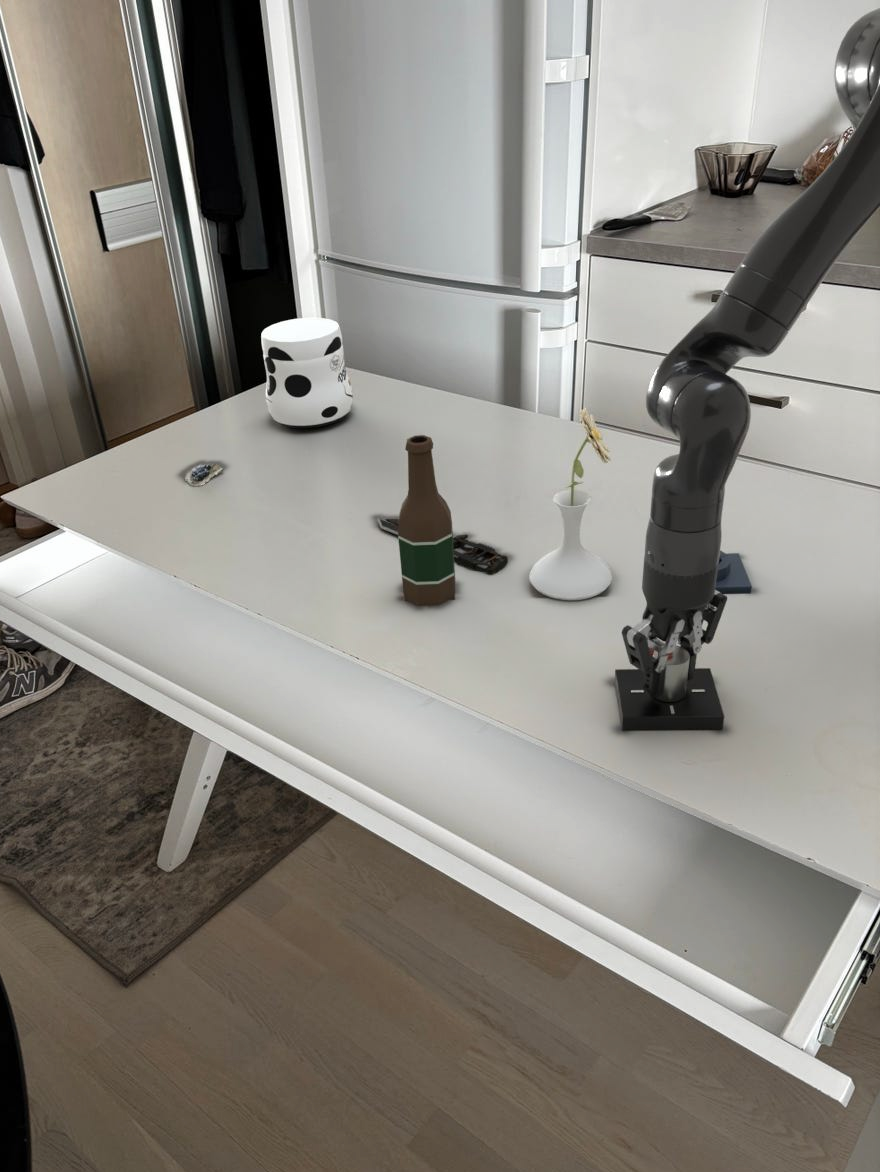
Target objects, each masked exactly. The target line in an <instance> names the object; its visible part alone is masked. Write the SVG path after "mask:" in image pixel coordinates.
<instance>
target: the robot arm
mask: <svg viewBox="0 0 880 1172" xmlns="http://www.w3.org/2000/svg"><path fill="white" fill-rule="evenodd" d="M838 47H839V48H838V50H837V52H836V57H835V62H834V71H833V73H834V74H833V75H834V76H833V77H834V88H835V93H836V96H837V98H838V101H839V105H840V106H841V109H842V110H843V112H844V114H845V115H846V117H847V119H848V121H849V122H850V124H851V125H852V127H853V128H854V131H853V133H852V134H851V136H850V137H849V139H847V142H846V143H845V144H844V146H843V147H842V149H841V150H840V151H839V152H838V154H837V155H836V156H835V157H834V158H833V160H832V161H831V162H830V163H829V164H828V165H827V167H826V168H825V169H824V170H823V172H821V174H819V176H818V177H817V178H815V180H814V181H813V182H812V183H811V184H810V185H809V186H808V187H807V188H806V189H805V190H804V191H803V192H801V194H800V195H798V197H796V198H795V200H793V201H792V202H791V203H790V204H789V205H788V206H787V207H786V208H785V209H784V210H783V211H782V212H781V213H780V214H779V215H778V216H777V217H776V218H775V219H774V220H773V221H772V222H771V223H770V224H769V225H768V226H767V227H766V229H765V230H763V232H762V233H761V234H760V235H759V237H758V238H757V239H756V240H755V242H754V243H753V245H752V246H751V247H750V249H749V250H748V251H747V253H746V254H745V255H744V257H743V259H742V261H741V262H740V264H739V265H738V267H737V268H736V269H735V271H734V272H733V275H732V276H731V278H730V279H729V281H728V283H727V284H726V286H725V288H724V289H723V291H722V293H721V294H720V296H719V297H718V299H717V301H716V303H715V304H714V306H713V307H712V309H711V310H709V312H708V313H706V314H705V316H704V317H702V318H701V320H699V321H698V322H697V323H696V324H695V325H694V326H693V327H692V328H691V329H690V330H689V331H688V332H687V334H685V336H684V337H682V339H680V340H679V342H678V343H677V344H676V345H675V346H674V347H673V348H672V349H671V350H670V351H668V353H666V355H665V357H664V358H663V359H662V360H661V361H660V363H659V364H658V365H657V367H656V369H655V371H654V372H653V374H652V376H651V379H650V380H649V383H648V386H647V390H646V394H645V408H646V411H647V414H648V416H649V418H650V419H651V420H652V421H653V422H654V423H655V424H656V425H657V426H658V427H660V428H662V429H663V430H665V431H666V432H668V433H670V435H672V436H674V437H676V438H677V439H679V453H677V454H673V455H670V456H667V457H665V458H663V460H661V461H660V462H659V463H658V464H657V466H656V468H655V471H654V473H653V478H652V485H651V498H650V512H649V513H650V514H649V518H648V523H647V528H646V532H645V541H644V542H645V543H644V557H643V566H642V567H643V569H642V581H641V582H642V583H641V591H642V593H643V596H644V598H645V601H646V606H645V609H644V611H643V613H642V616H641V617H642V620H641V621H640V622H639V623H638V624H636V625H635V626H634V627H632V626H631V625H625V626H624V627H623V628H622V630H621V637H622V640H623V643H624V647H625V650H626V655H627V658H628V661H629V664H630V665H631V666H633V667H635V669H639V670H641V671H642V672H644V674H643V688H644V689H645V690H646V691H647V692H649V693H650V694H652V695H653V696H654V697H659V696H660V695H662V694H663V686H664V675H665V670H664V668H665V665H666V662H667V658H668V655H669V654H672V653H673V652H674V649H675V646H676V645H678V646H680V647H682V648H684V649H686V650H687V651H688V652H689V655H690V660H689V669H688V678H687V681H689V680H691V679H692V678H693V673H694V671H695V668H696V666H697V656H698V654H699V653H700V652H701V651H702V648H703V647H702V646H703V645H704V644H706V645H710V644H711V643H712V642H713V640H714V637H715V634H716V632H717V629H718V626H719V624H720V621H721V618H722V615H723V612H724V610H725V607H726V605H727V601H728V596H727V595H726V594H722V593H720V592H718V591H717V590H715V587H716V579H717V571H718V564H719V556H720V550H721V549H722V548H721V546H722V532H723V531H722V519H723V510H724V502H725V496H726V495H725V494H726V484H727V481H728V479H729V477H730V475H731V473H732V472H733V469H734V467H735V464H736V462H737V459H738V457H739V454H740V452H741V449H742V447H743V445H744V443H745V440H746V438H747V435H748V432H749V430H750V425H751V419H752V410H751V409H752V408H751V401H750V397H749V394H748V392H747V390H746V388H745V386H744V385H743V384H742V383H741V382H740V381H738V380H737V379H735V378H734V377H732V376H730V375H728V373H729V371H730V370H732V369H733V367H734V366H736V365H737V363H739V362H740V361H741V360H742V359H744V358H749V357H751V358H752V357H753V358H765V357H769V356H771V355H772V354H773V353H775V352H776V350H778V348H779V347H780V346H781V344H782V342H784V340H785V339H786V337H787V336H788V334H789V332H790V331H791V329H792V328H793V326H794V325H795V323H796V322H797V320H798V319H799V318H800V316H801V314H802V313H803V311H804V310H805V308H806V307H807V306H808V304H809V303H810V301H811V299H812V298H813V297H814V295H815V294H816V292H817V290H818V289H819V287H820V286H821V284H822V283H823V282H824V280H825V278H826V277H827V276H828V274H829V272H830V271H831V270H832V268H833V267H834V265H835V264H836V262H837V261H838V260H839V258H840V257H841V256H842V254H843V253H844V252H845V250H846V249H848V246H849V245H850V244H851V243H852V241H853V240H854V239H855V238H856V237H857V236H858V234H859V233H860V231H861V230H862V229H863V228H864V227H865V225H866V224H867V223H868V222H869V220H871V218H872V217H873V216H874V215H875V213H876V212H877V211H878V210H879V209H880V7H879V8H876V9H874V10H871V11H869V12H868V13H867V12H866V14H864V15H863V16H861V17H860V18H858V19H857V20H856V21H855V22H854V23H853V24H852V25H851V26H850V28H849V29H848V30H847V31H846V33H845V35H844V36H843V38H842V40H841V41H840V44H839V46H838ZM704 622H706V623H707V626H706V629H703V623H704ZM654 651H657V652H658V656H657V659H656V658H654V657H653V654H654Z"/></svg>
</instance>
